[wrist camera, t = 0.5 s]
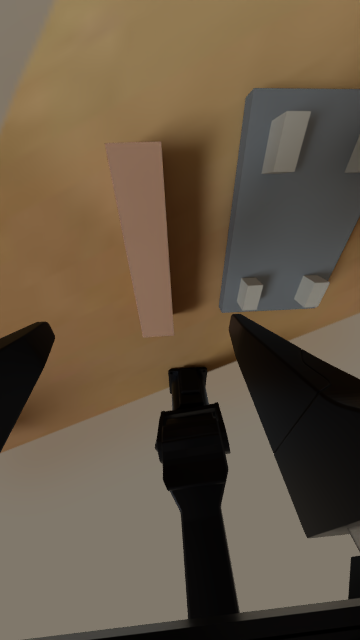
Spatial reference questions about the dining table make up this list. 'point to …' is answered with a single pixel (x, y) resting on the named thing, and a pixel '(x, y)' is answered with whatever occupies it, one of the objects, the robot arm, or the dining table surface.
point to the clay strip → (144, 229)
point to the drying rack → (291, 197)
